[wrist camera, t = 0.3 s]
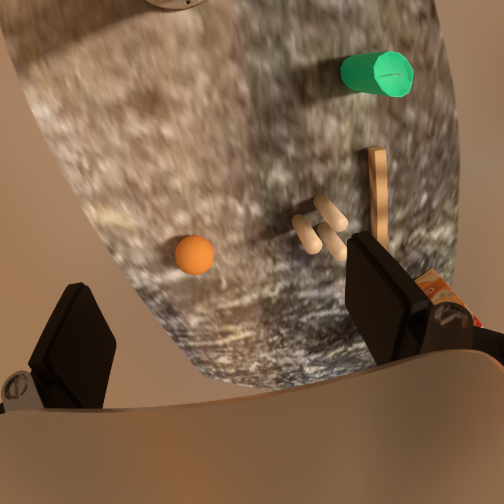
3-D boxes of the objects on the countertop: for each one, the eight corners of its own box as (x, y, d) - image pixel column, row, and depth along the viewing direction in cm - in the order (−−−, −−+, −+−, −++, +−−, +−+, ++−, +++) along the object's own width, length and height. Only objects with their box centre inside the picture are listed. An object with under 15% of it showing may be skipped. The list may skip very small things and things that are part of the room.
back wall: (367, 147, 45) (374, 151, 43) (378, 145, 45) (385, 149, 43) (371, 253, 55) (376, 260, 53) (380, 250, 55) (386, 257, 53)
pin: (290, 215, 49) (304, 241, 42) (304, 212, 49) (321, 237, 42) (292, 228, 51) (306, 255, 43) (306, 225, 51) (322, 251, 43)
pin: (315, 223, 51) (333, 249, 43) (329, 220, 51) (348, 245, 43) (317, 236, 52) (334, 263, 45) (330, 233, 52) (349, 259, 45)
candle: (359, 99, 41) (402, 108, 31) (332, 72, 38) (371, 71, 28) (382, 74, 39) (429, 78, 29) (356, 47, 37) (399, 41, 26)
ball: (171, 234, 48) (167, 253, 43) (208, 224, 48) (208, 243, 43) (183, 265, 51) (181, 286, 46) (217, 256, 51) (219, 277, 46)
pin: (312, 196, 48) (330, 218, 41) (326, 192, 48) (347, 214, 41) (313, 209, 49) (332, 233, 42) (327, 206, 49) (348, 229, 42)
